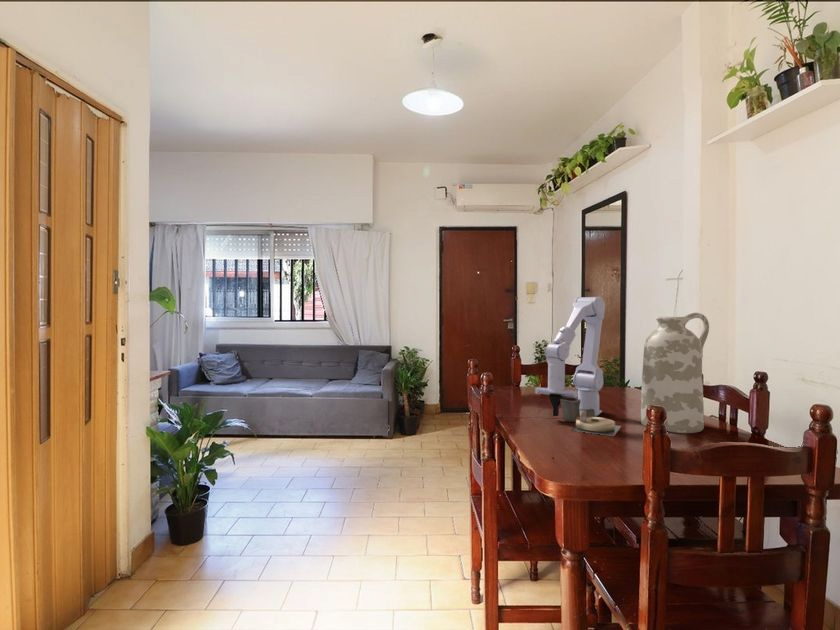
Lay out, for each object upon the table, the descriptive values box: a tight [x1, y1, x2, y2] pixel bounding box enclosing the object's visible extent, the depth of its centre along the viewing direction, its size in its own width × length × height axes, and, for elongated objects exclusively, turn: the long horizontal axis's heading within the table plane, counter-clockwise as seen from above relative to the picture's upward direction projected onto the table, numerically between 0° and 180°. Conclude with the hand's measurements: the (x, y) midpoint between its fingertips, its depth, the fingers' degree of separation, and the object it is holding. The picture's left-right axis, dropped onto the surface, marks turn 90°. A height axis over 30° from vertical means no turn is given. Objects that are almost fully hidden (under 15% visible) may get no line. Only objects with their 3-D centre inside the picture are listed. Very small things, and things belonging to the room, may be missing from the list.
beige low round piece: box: [575, 410, 616, 432], centre depth 154 cm, size 12×12×6 cm
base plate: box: [570, 424, 622, 437], centre depth 154 cm, size 14×13×1 cm
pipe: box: [560, 396, 596, 423], centre depth 165 cm, size 6×13×8 cm, turn 102°
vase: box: [640, 312, 710, 434], centre depth 156 cm, size 20×19×38 cm
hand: (555, 415), depth 166 cm, fingers closed
